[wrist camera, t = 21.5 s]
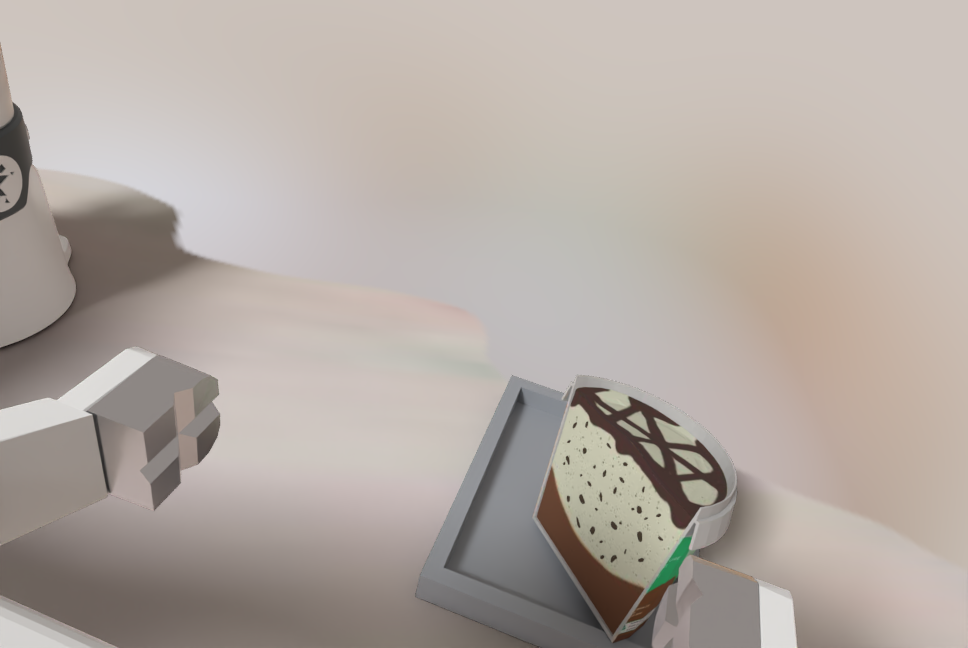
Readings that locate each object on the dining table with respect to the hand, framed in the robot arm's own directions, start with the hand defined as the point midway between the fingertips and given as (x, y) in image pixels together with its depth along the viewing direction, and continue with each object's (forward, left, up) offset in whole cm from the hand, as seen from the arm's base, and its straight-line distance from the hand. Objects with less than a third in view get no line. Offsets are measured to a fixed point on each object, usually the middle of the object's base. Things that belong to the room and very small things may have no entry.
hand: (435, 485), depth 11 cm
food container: (+8, +20, -25) cm, 33 cm away
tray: (+5, +24, -26) cm, 36 cm away
